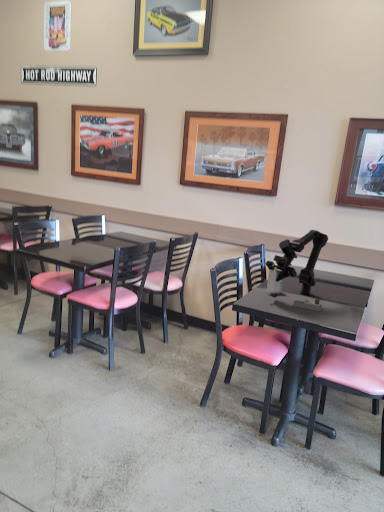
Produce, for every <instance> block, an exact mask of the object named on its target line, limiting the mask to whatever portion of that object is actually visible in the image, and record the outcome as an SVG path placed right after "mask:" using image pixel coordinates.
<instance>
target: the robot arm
mask: <svg viewBox="0 0 384 512" xmlns="http://www.w3.org/2000/svg"><path fill="white" fill-rule="evenodd" d="M328 240H329V236H328V235H327V234H325V233H323V232H320V231H319V230H316V229H310V230H309V232H307V233H306V234H304V235H303V236H301V237H300V238H298V239H293V240H291V241H290V239H288V238H286V239H284V240H282V241H280V242H279V244H278V247H279V248H280V250H281V252H282V254H283V256H281V255H277V254H275V255H274V257H273V261H272V260H267V261H266V262H265V265H266V267H267V268H268V270H273V269H275V268H277V270H279V271H282V272H281V274H280V275H279V277H278V278H277V280H276V281H277V282H278V281H280V280H281V281H282V280H283V279H286V278H290V277H292V278H296V276H297V270H296V269H295V267H292V262H293V261H294V260H295V259H296V260H297V259H298V256H297V255H298V254H297V253H301V252H302V251H303V250H304V249H305V246H306V245H308V244H309V243H311V242H312V245H313V247H312V248H311V252H310V254H309V257H308V259H307V263H306V266H305V267H304V268H301V270H300V272H299V274H298V283H299V284H301V289H300V292H299V295H304V296H312V291H311V290H312V287H315V286H316V282H317V281H316V280H315V271H314V270H315V268H316V263H317V261H318V259H319V255H320V252H321V251H322V249H323V248H324V247H325V246H326V244H327V242H328ZM274 261H275V262H274Z"/></svg>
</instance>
